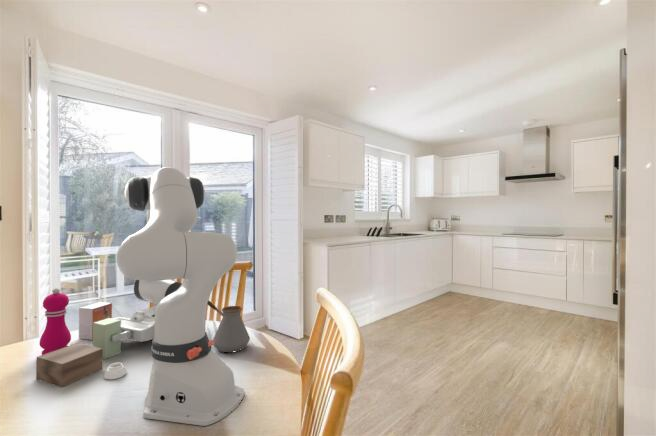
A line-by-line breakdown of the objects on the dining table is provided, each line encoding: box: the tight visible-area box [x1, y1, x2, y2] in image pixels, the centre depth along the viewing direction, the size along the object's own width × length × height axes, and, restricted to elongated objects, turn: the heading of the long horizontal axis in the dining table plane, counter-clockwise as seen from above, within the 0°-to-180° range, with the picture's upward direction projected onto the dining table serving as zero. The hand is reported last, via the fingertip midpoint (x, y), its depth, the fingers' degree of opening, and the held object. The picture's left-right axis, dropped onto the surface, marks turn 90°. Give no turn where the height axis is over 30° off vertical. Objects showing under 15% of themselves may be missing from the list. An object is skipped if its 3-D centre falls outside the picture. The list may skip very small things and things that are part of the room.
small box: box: [78, 301, 113, 341], centre depth 114 cm, size 8×6×10 cm
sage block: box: [92, 317, 122, 360], centre depth 99 cm, size 5×5×10 cm
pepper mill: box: [39, 287, 72, 355], centre depth 98 cm, size 7×7×20 cm
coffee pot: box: [207, 300, 251, 353], centre depth 108 cm, size 21×12×15 cm, turn 60°
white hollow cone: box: [103, 362, 128, 381], centre depth 87 cm, size 5×3×5 cm
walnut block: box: [35, 342, 104, 388], centre depth 87 cm, size 10×10×6 cm
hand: (104, 337), depth 98 cm, fingers closed on sage block, 5 cm apart
